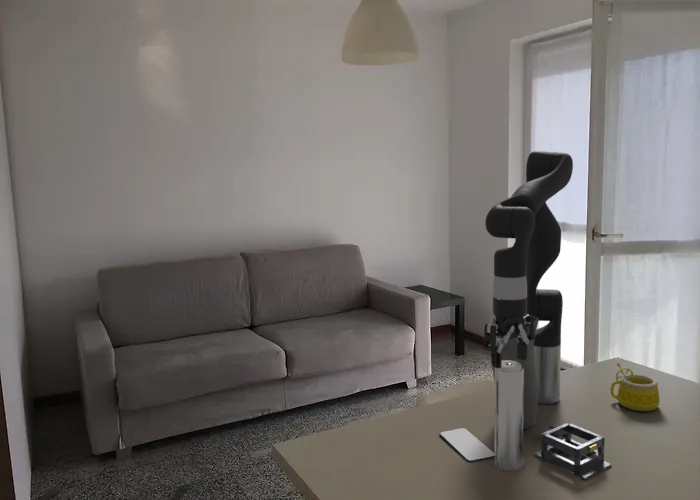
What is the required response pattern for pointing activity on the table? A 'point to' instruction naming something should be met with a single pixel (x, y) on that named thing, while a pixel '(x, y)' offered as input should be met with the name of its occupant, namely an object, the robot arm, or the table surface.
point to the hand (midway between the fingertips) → (509, 363)
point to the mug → (636, 391)
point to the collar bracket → (574, 450)
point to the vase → (529, 375)
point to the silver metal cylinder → (509, 415)
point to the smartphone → (467, 445)
